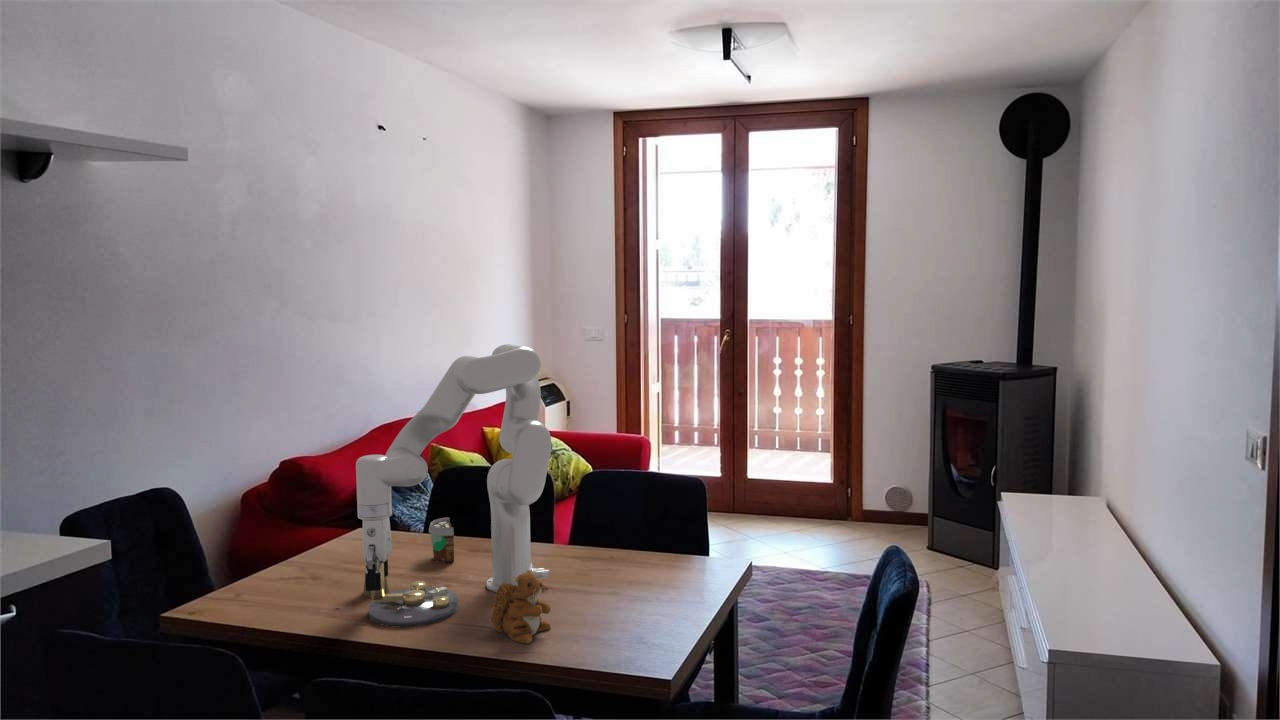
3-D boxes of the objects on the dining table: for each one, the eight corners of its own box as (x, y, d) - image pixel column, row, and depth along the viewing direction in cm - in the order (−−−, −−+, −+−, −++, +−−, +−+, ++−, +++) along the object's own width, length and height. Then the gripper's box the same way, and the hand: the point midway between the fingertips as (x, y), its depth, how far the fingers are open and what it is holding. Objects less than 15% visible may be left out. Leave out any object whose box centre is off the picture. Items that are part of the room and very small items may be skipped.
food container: (428, 553, 248) (426, 518, 247) (450, 551, 250) (449, 516, 249) (431, 566, 236) (430, 530, 235) (454, 564, 238) (453, 527, 237)
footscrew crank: (426, 597, 207) (425, 558, 206) (423, 604, 202) (422, 564, 201) (373, 599, 205) (372, 560, 204) (369, 607, 200) (368, 567, 199)
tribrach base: (461, 593, 215) (461, 578, 215) (454, 624, 195) (453, 607, 195) (377, 597, 213) (376, 582, 212) (361, 629, 193) (360, 612, 193)
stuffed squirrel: (530, 646, 183) (529, 584, 182) (477, 633, 190) (475, 574, 189) (558, 629, 191) (557, 570, 190) (506, 618, 198) (505, 561, 197)
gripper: (385, 518, 193) (387, 595, 194) (397, 500, 210) (399, 570, 211) (349, 520, 192) (352, 597, 193) (365, 501, 209) (367, 572, 211)
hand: (377, 583), depth 202 cm, fingers open, 9 cm apart
